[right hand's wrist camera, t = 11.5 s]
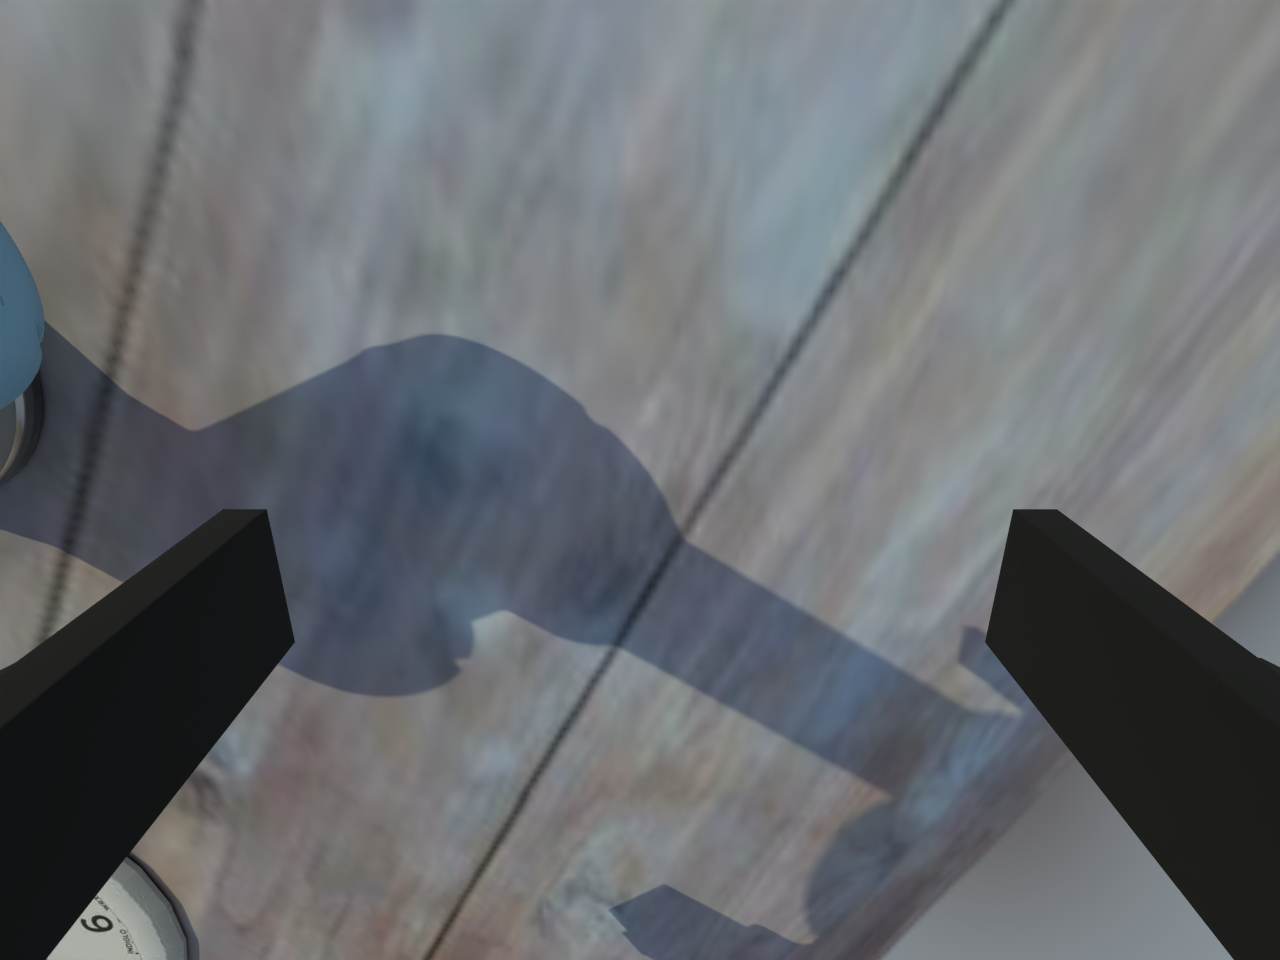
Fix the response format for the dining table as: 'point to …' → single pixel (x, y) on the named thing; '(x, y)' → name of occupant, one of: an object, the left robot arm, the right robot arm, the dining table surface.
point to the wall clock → (125, 923)
